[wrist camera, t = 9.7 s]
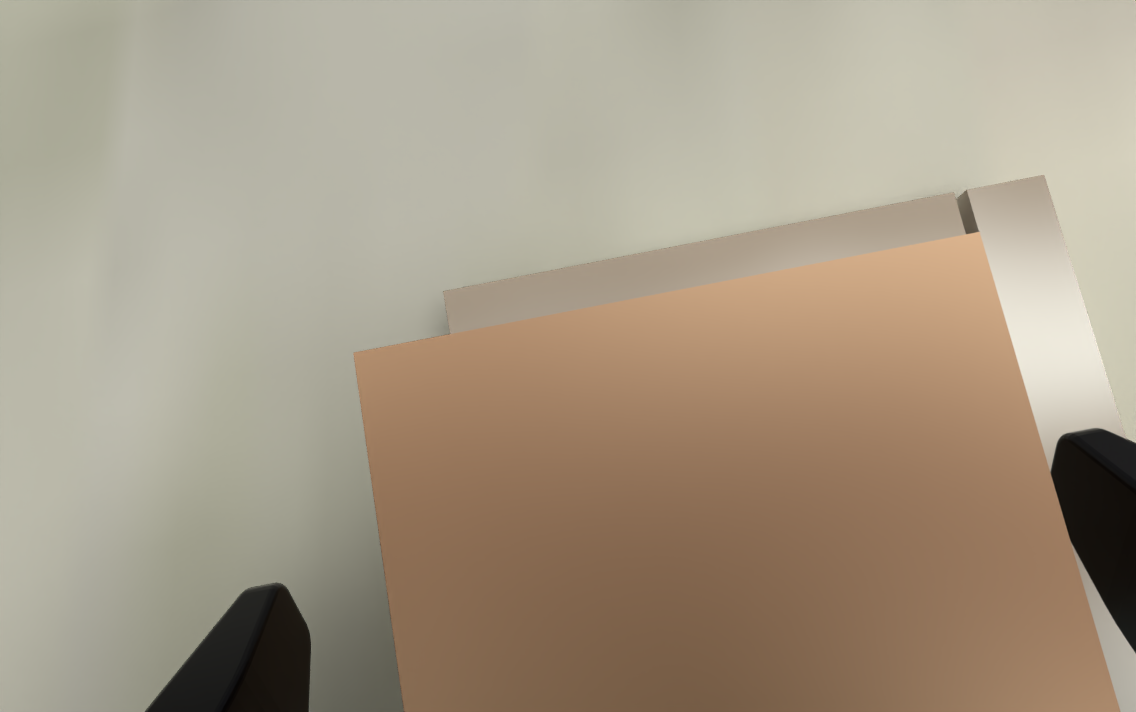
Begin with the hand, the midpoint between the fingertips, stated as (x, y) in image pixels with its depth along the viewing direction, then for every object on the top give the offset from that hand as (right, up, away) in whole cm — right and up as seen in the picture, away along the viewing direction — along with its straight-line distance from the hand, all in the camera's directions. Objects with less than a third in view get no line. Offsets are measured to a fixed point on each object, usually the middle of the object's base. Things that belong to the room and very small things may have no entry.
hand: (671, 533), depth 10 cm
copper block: (0, -2, +8) cm, 8 cm away
